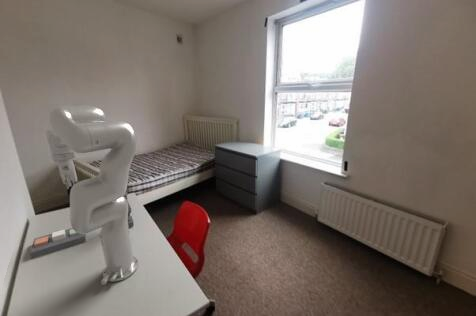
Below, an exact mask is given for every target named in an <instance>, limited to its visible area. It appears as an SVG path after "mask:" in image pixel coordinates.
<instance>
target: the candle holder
mask: <svg viewBox="0 0 476 316" xmlns="http://www.w3.org/2000/svg"><path fill="white" fill-rule="evenodd" d="M127 190H128V188H127V189H126V193H125V195H124V197H125V198H126V200H127V202H128V227H129V230H130V229H132V228H133V227H134V226H135V225H134V224H135V223H134V219H133V216H131V212H132V208H131V205H130V202H129V201H128V193H129V192H128V191H127Z"/></svg>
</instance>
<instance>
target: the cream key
mask: <svg viewBox="0 0 476 316" xmlns="http://www.w3.org/2000/svg"><path fill="white" fill-rule="evenodd" d="M65 230H66V229H60V230H58V231H53V232H52V233H51V234H52V239H53V242H55V241H58V240H62V239H65V238H66V233H65Z"/></svg>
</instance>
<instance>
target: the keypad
mask: <svg viewBox="0 0 476 316" xmlns="http://www.w3.org/2000/svg"><path fill="white" fill-rule="evenodd" d="M71 229H73V228H72V227H70V228H68V229H65V233H66V238H65V239H62V240H58V241H55V242H53V239H52V234H53V233H51V234H50V233H49V234H46V235H43V236H39V237H36V238H34V239H33V242H32V246H31V247H30V248H31V249H30V252H29V254H30V257H31V259H32V260H34V259H36V258H39V257H42V256H45V255H46V256H47V255H49V254H51V253H55V252H58V251H61V250H64V249H68V248H71V247H73V246H76V245H77V246H78V245H81V244H84V243H86V241H87V239H86V234H79V235H75V236H72V237H70V230H71ZM47 236H48V237H49V243H48V244H45V245H42V246H38V247H35V246H34V243H35V240H36V239H39V238H43V237H47Z"/></svg>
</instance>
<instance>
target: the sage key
mask: <svg viewBox="0 0 476 316" xmlns="http://www.w3.org/2000/svg"><path fill="white" fill-rule="evenodd" d="M70 229H71V228H70ZM75 235H79V233H77V232H75V231H74V229H71V230H70V237H72V236H75Z"/></svg>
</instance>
